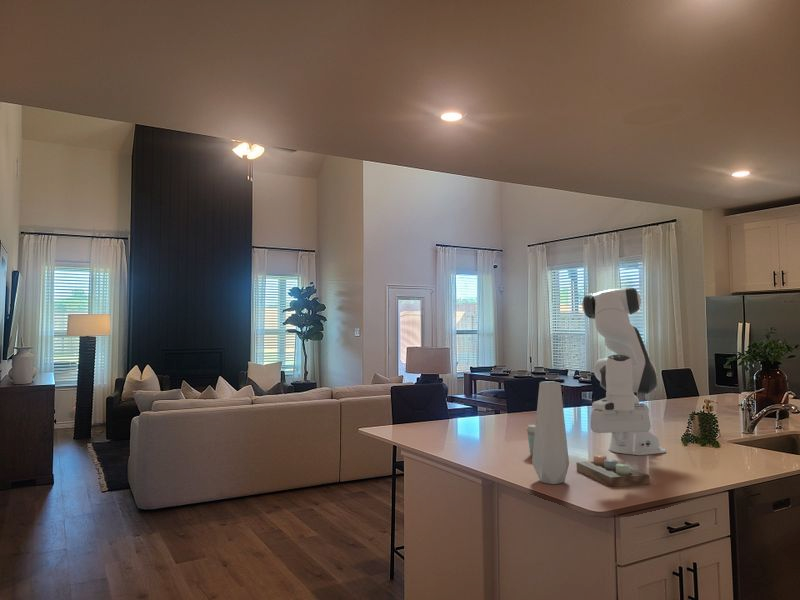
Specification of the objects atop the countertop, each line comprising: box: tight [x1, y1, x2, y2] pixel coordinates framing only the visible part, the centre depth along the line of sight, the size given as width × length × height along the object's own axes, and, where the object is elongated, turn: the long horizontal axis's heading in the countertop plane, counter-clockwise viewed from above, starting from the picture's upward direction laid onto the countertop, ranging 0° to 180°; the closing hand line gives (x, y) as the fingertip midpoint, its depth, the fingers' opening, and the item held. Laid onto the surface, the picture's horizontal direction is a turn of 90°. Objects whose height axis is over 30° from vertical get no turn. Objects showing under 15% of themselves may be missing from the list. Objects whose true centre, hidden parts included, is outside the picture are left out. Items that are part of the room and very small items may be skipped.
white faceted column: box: [531, 381, 570, 485], centre depth 186 cm, size 12×12×33 cm
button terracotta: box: [593, 454, 608, 465], centre depth 197 cm, size 4×4×3 cm
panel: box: [576, 460, 651, 488], centre depth 190 cm, size 14×22×3 cm, turn 11°
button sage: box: [616, 463, 631, 475], centre depth 183 cm, size 4×4×3 cm
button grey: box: [604, 458, 619, 470], centre depth 190 cm, size 4×4×3 cm
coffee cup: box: [526, 423, 536, 457], centre depth 224 cm, size 9×8×12 cm
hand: (621, 445), depth 183 cm, fingers closed
